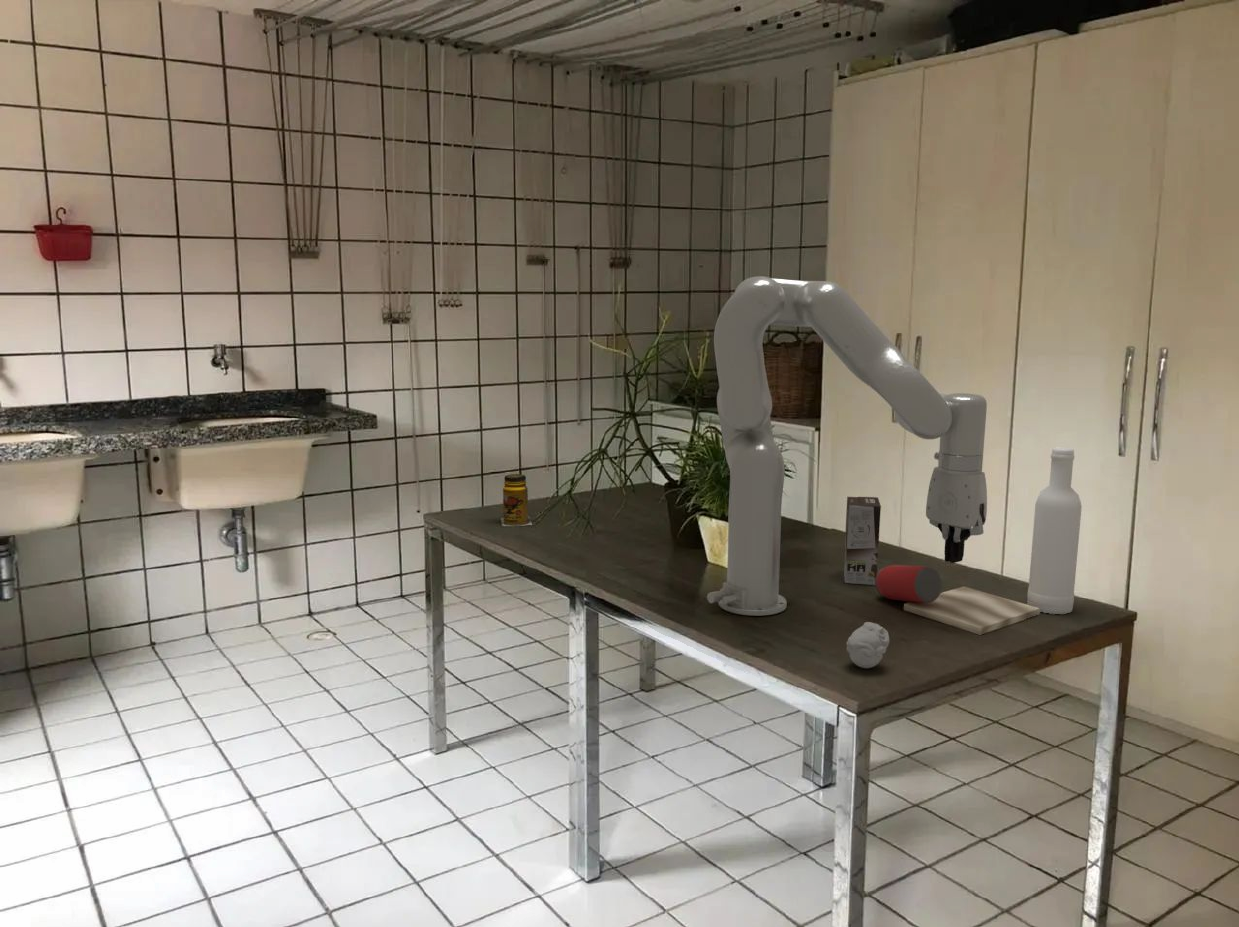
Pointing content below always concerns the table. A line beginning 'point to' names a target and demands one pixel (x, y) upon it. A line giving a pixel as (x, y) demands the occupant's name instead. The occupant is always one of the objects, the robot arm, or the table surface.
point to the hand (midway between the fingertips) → (953, 560)
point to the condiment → (515, 501)
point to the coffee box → (861, 540)
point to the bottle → (1055, 539)
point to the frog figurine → (868, 645)
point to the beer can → (909, 583)
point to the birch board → (973, 610)
